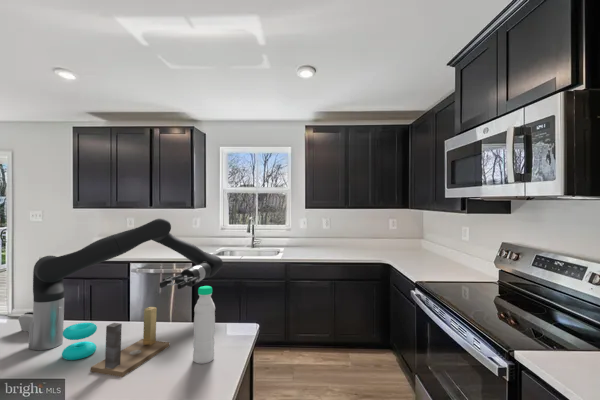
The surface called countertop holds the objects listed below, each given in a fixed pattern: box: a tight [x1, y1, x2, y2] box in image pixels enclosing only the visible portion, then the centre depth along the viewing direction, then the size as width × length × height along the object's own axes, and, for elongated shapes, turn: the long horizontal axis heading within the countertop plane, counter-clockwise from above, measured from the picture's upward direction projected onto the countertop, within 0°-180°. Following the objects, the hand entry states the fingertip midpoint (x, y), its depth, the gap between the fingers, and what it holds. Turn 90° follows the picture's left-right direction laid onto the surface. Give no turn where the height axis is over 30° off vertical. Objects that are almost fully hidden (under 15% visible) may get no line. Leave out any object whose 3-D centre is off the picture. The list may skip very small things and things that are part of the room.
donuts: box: [61, 322, 98, 361], centre depth 113 cm, size 10×10×10 cm
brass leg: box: [142, 306, 158, 346], centre depth 119 cm, size 3×3×13 cm
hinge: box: [17, 310, 33, 333], centre depth 133 cm, size 17×5×10 cm, turn 72°
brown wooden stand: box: [90, 322, 170, 378], centre depth 111 cm, size 23×12×14 cm, turn 166°
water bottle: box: [192, 285, 216, 365], centre depth 111 cm, size 7×7×25 cm
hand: (169, 286), depth 129 cm, fingers open, 8 cm apart
